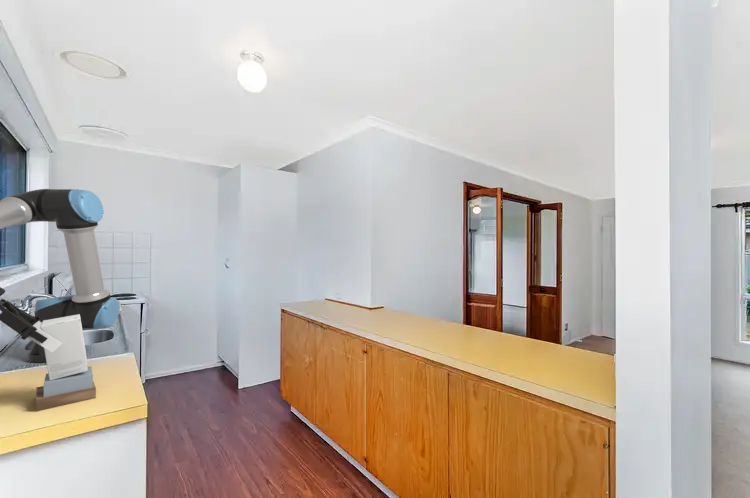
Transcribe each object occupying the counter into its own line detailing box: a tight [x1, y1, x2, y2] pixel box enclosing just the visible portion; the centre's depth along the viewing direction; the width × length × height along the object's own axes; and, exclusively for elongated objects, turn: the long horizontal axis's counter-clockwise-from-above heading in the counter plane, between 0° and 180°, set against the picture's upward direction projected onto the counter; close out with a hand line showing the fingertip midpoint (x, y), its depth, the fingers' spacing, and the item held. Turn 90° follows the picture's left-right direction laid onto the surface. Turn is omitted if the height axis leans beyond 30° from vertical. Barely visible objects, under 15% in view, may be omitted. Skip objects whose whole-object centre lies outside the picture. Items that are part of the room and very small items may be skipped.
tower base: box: [35, 381, 97, 413], centre depth 98 cm, size 12×12×4 cm
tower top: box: [43, 365, 94, 397], centre depth 99 cm, size 10×10×4 cm
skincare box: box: [40, 314, 89, 380], centre depth 98 cm, size 8×7×16 cm
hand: (56, 342), depth 97 cm, fingers open, 13 cm apart
